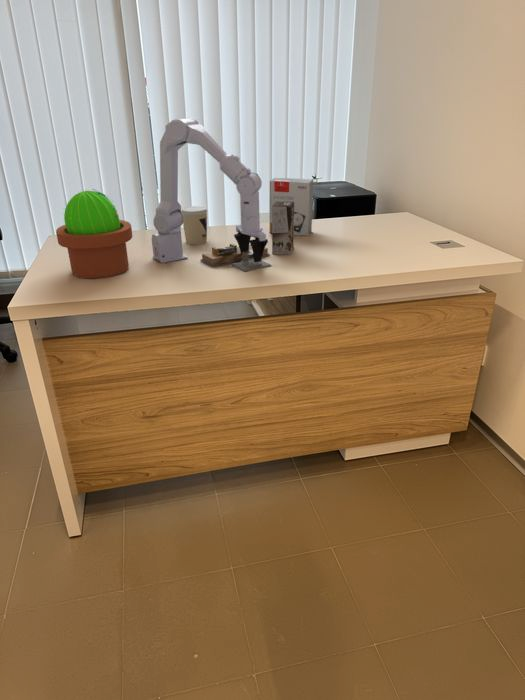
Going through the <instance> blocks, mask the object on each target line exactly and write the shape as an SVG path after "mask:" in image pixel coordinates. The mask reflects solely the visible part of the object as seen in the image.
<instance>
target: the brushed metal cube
mask: <svg viewBox="0 0 525 700" xmlns="http://www.w3.org/2000/svg"><path fill="white" fill-rule="evenodd" d="M262 261H263V258H262V259H261V261H260V262H254V258H253V250H249V251H244V252H242V261H241V262H242V264H243V265H245V266H247V267H253V266H257V265H262Z"/></svg>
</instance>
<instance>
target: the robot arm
mask: <svg viewBox="0 0 525 700" xmlns="http://www.w3.org/2000/svg"><path fill="white" fill-rule="evenodd" d="M164 129H165V130H164V131H163V132H164V133H163V135H162V137H161V138H160V139H161V140H159V141H160V142H159V163H160V164H159V168H160V169H159V173H160V175H159V180H160V182H159V183H160V184H159V185H160V188H159V190H160V196H159V197H160V201H159V203H158V205H157V207H156V208H155V215H154V217H153V226H154V228H155V230H156V231H157V233H156V232H155V233H153V234H152V235H151V245H152V246H151V247H152V255H153V256H152V259H155V260H156V261H157V262H160V263H162V264H165V263H169V262H175V261H180V260H185V259H188V258H189V257H188V256H187V255H185V254H184V251H183V240H182V239H183V238H182V230H181V229H182V226H183V221H184V217H183V214H182V205H181V204H180V202H179V201H178V199H179V197H178V195H179V192H178V190H179V187H178V186H179V185H178V184H179V179H178V178H179V168H178V167H179V150H180V149H181V148H182V147H183V146H185V145H186V144H191V145H196V146H199V147H200V148H201V149H203V150H204V151H206V153H208V154H209V155H210V156H211V157H212V158H213V159H214V160H215V161H216V162H217V163H219V169H220V171H221V172H223V174H224V175H225V176H226V177H227V178H228V179H229V180H230V181H232V182H233V184H234V185H236V186H235V187H236V190H237V192H238V194H239V196H240V197H239V199H240V201H239V202H240V203H239V204H240V224H238V225H235V232H236V233H235V234H233V237H234V239H235V241H236V242H237V245H238V247H239V248H240V252H241V255H242V252H244V251H249V245H251V247H252V250H253V258H254V262H260V261H261V259H262V260H263V257H262V255H263V251H264V248H265V247H266V246H267V244H268V242H269V240H268V239H267V234H266V233H265V232H264V231H263V228H262V227H261V225H260V191H259V190H261V188H262V183H263V182H262V179H261V177H260V175H259V174H258V173H256V172H254V171H253V172H252V170H251V169H250V168H247V166H245V164H243V163H242V162H241V160H240V157H239V156H238V155H234V154H228V153H227V152H226V151H225V150H224V149H223V148H222V147H221V146H220V145H219V143H218V142H217V141H216V140H215V139H214V138H213V136H212V135H210V134H209V133H208V131H207V130H206V128H205V127H204V125H202V124H201V123H199V122H198V120H197V119H196V118H194V117H187V118H178V119H177V118H174V119H172V120H170V122H168V123H167V124H166V125H165V128H164ZM251 238H254V239H251Z"/></svg>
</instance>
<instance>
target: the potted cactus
mask: <svg viewBox="0 0 525 700" xmlns="http://www.w3.org/2000/svg"><path fill="white" fill-rule="evenodd" d="M113 202H114V200H111V199H109V196H107V195H106V194H105V193H103V192H101V191H99V190H96V189H94V188H92V190H80V192H78V193H75V194H74V195H73V196H72V197H71V198H70V199H69V201H67V203H66V205H65V208H64V213H62V215H64V216H63V217H64V218H63V221H64V224H63V225H61V226H59V227H58V228H56V230H55V234H56V239H57V243H58V245H59V246H60V247H63V248H66V249H67V252H68V253H67V254H68V258H69V264H70V268H71V273H72V275H74V276H76V277H78V278H82V279H101V278H102V279H103V278H108V277H114V276H115V277H116V276H118V275H121V274H123V273H125V272H127V271H128V269H129V266H130V265H129V257H128V256H129V255H128V249H127V242H129V241H131V240H132V239H133V230H132V224H131V223H130V222H129V221H127V220H123V219H120V217H119V213H118V210H117V209H116V207H115V205H114V204H113Z"/></svg>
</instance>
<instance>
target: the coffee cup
mask: <svg viewBox="0 0 525 700" xmlns="http://www.w3.org/2000/svg"><path fill="white" fill-rule="evenodd" d="M181 211H182V214H183V217H184V221H183V224H182V227H183V230H184V231H183V232H184V238H185V243H186V244H187V245H202V244H205V243H208V242H207V240H208V209H207V207H204V206H195V205H194V206H186V207H182V208H181Z"/></svg>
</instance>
